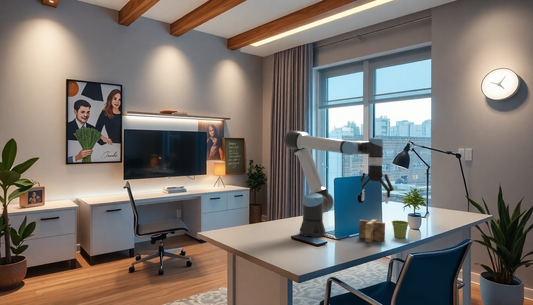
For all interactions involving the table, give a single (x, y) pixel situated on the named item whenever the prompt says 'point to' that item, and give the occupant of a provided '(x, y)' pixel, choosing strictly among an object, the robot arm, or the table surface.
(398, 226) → the plant pot
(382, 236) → the wooden u-shaped block
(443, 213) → the table surface
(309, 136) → the robot arm
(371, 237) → the oak board
